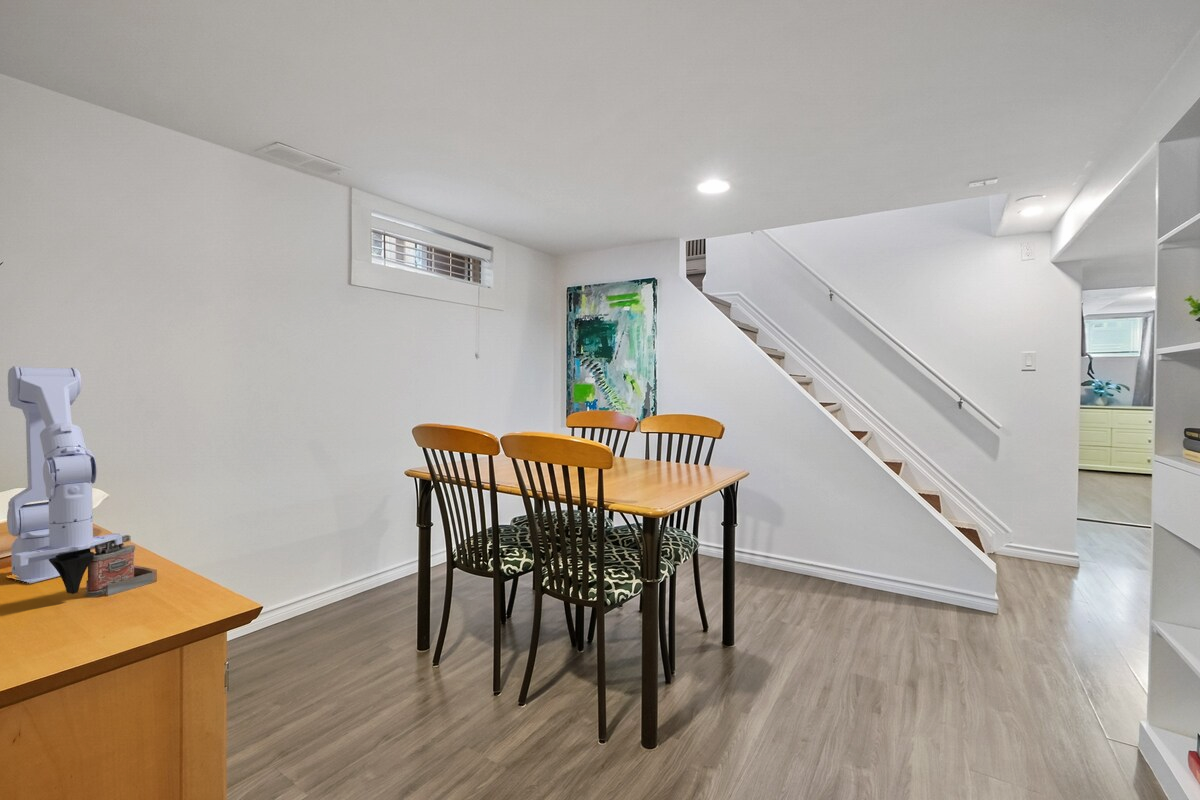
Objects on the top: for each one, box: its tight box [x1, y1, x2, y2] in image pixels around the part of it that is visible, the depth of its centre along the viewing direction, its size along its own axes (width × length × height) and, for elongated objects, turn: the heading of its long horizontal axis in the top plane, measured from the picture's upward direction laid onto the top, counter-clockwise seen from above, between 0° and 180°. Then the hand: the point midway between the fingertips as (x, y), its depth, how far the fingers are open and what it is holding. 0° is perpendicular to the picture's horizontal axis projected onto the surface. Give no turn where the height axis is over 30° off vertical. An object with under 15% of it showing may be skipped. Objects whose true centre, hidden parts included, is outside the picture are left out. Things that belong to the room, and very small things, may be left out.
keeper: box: [85, 565, 158, 597], centre depth 105 cm, size 7×8×2 cm
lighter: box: [86, 534, 136, 597], centre depth 103 cm, size 8×3×10 cm, turn 170°
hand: (72, 592), depth 97 cm, fingers closed
